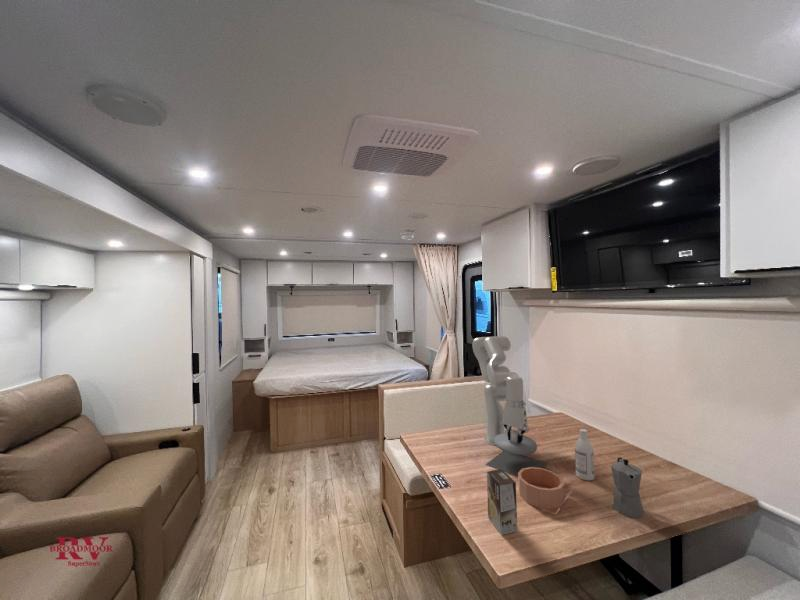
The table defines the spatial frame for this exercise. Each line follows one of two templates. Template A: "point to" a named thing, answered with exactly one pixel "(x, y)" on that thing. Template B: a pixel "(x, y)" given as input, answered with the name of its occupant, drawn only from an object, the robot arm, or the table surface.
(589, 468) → the bath foam
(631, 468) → the coffeepot
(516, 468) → the mat
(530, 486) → the bowl
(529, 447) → the lid
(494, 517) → the coffee box
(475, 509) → the table surface
